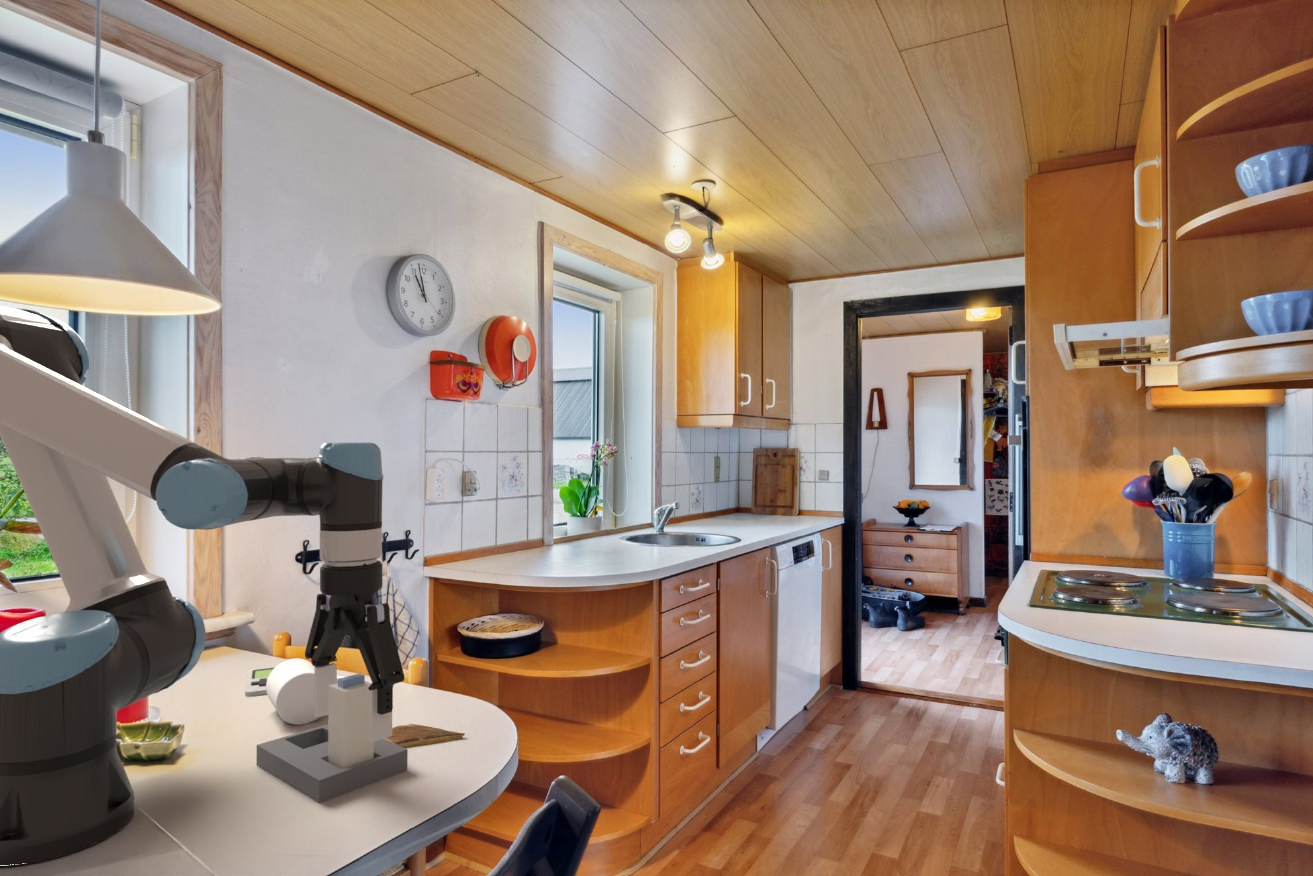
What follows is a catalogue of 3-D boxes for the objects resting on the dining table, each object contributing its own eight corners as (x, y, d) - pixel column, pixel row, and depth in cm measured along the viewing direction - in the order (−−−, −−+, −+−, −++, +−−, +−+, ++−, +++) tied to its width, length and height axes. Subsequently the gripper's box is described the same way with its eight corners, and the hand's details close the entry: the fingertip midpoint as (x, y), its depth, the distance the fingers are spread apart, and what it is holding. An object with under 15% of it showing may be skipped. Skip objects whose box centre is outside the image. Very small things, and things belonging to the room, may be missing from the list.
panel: (319, 805, 92) (319, 780, 92) (256, 767, 103) (256, 745, 103) (407, 772, 101) (407, 749, 101) (341, 740, 112) (341, 720, 112)
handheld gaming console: (244, 690, 131) (247, 667, 145) (244, 700, 131) (247, 676, 145) (308, 682, 136) (306, 661, 149) (308, 691, 136) (306, 669, 149)
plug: (344, 787, 96) (344, 684, 96) (328, 779, 99) (328, 677, 99) (373, 777, 99) (373, 676, 99) (357, 768, 102) (357, 670, 102)
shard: (465, 743, 112) (465, 731, 112) (429, 763, 105) (429, 750, 105) (407, 732, 117) (407, 720, 117) (370, 750, 110) (370, 737, 110)
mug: (276, 730, 116) (276, 677, 116) (265, 711, 124) (265, 662, 124) (358, 714, 123) (358, 664, 123) (343, 697, 131) (343, 651, 131)
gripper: (433, 567, 94) (433, 740, 94) (331, 550, 110) (331, 698, 110) (377, 575, 88) (377, 760, 88) (277, 556, 104) (278, 712, 104)
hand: (352, 726), depth 99 cm, fingers open, 13 cm apart
